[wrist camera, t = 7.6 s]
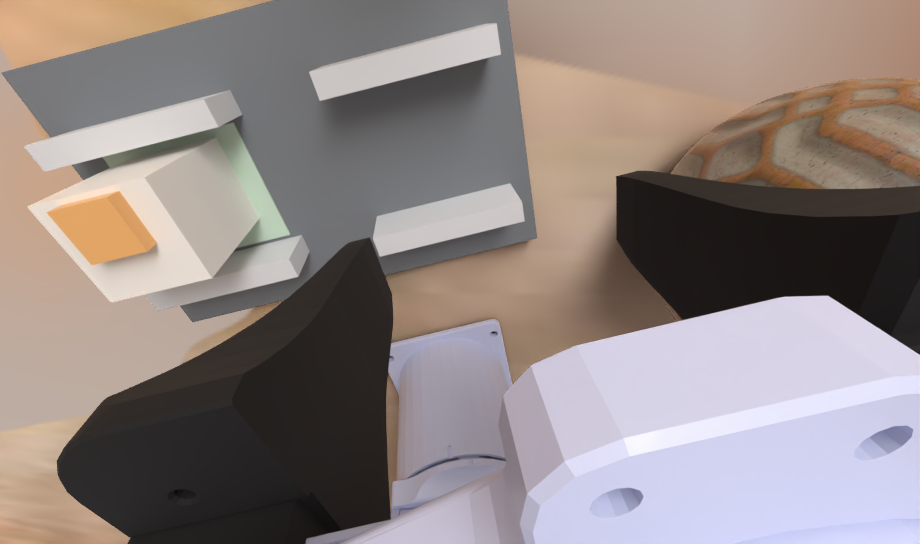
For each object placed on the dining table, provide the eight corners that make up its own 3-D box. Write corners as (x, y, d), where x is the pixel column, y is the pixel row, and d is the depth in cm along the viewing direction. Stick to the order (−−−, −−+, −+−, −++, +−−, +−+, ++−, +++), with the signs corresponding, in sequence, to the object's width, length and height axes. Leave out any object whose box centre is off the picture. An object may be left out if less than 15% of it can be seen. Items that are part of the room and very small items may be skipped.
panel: (532, 230, 23) (550, 260, 20) (200, 311, 23) (169, 353, 20) (494, -55, 16) (514, -74, 13) (22, 70, 16) (-64, 80, 13)
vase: (863, 21, 19) (2574, 3, 4) (817, 248, 26) (1370, 551, 11) (594, 118, 20) (1134, 393, 5) (619, 311, 27) (878, 664, 12)
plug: (259, 218, 19) (205, 286, 14) (182, 237, 20) (100, 312, 14) (215, 137, 17) (133, 183, 12) (129, 158, 17) (10, 214, 12)
